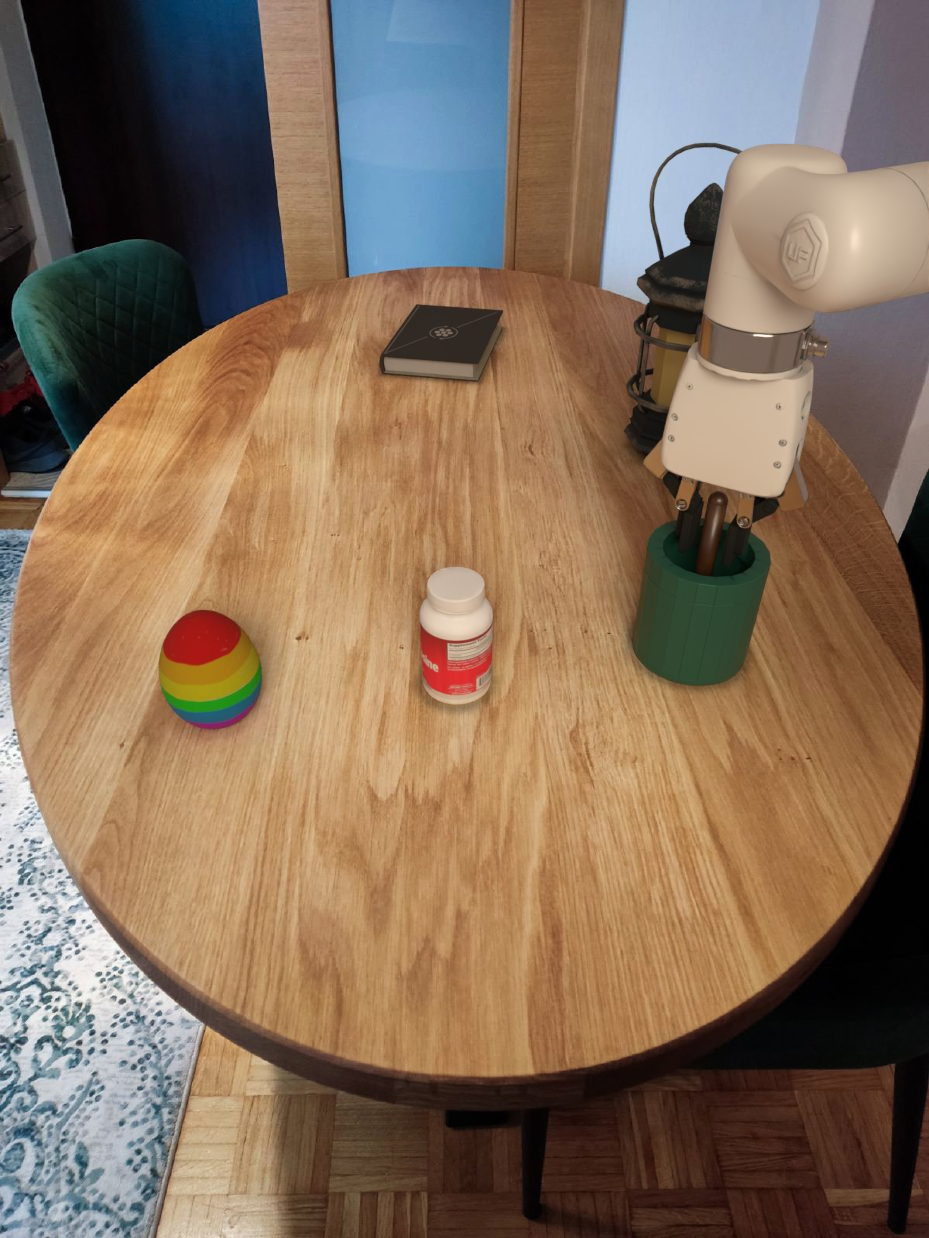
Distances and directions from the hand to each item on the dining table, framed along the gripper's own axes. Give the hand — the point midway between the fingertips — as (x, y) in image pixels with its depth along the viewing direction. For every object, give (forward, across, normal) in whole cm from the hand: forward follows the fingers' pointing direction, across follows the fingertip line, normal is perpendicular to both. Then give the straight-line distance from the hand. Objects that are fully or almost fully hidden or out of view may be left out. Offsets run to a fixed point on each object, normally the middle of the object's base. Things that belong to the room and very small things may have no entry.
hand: (708, 550), depth 75 cm
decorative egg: (+11, +32, +28) cm, 44 cm away
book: (+11, +57, -49) cm, 76 cm away
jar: (+11, 0, 0) cm, 11 cm away
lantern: (+11, +15, -36) cm, 41 cm away
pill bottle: (+11, +16, +15) cm, 25 cm away
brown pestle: (+10, 0, 0) cm, 10 cm away
